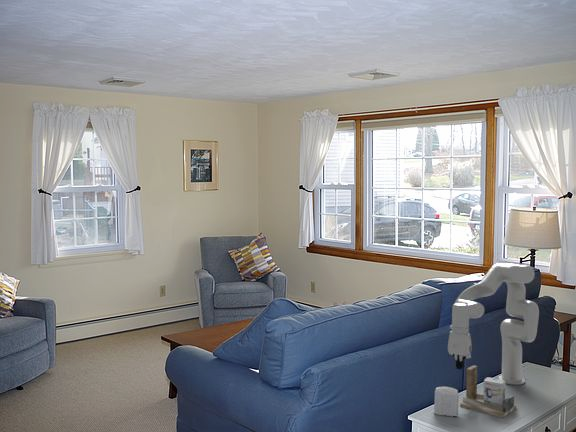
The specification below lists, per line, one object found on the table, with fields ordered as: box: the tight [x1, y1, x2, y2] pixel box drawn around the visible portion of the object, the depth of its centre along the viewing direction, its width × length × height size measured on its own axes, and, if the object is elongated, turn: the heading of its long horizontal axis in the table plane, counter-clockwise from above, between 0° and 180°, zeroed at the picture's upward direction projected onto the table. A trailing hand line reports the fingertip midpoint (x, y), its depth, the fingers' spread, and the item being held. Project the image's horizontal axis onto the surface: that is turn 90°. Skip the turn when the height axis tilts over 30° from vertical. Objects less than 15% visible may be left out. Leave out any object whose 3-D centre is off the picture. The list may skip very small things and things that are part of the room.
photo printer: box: [433, 386, 460, 417], centre depth 268 cm, size 10×4×12 cm, turn 72°
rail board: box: [459, 392, 517, 419], centre depth 276 cm, size 14×20×6 cm
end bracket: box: [465, 365, 478, 399], centre depth 281 cm, size 6×2×15 cm, turn 137°
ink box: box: [483, 376, 506, 407], centre depth 274 cm, size 9×5×12 cm, turn 57°
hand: (459, 368), depth 284 cm, fingers closed
